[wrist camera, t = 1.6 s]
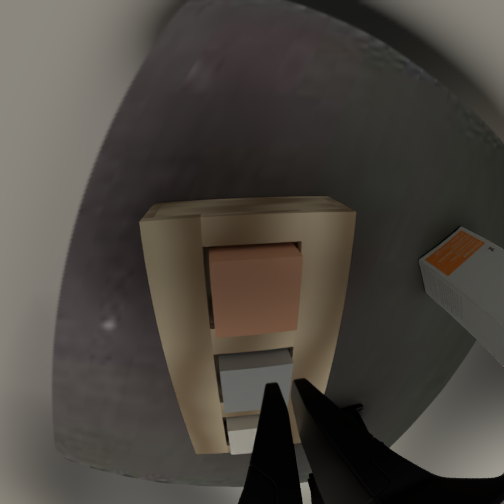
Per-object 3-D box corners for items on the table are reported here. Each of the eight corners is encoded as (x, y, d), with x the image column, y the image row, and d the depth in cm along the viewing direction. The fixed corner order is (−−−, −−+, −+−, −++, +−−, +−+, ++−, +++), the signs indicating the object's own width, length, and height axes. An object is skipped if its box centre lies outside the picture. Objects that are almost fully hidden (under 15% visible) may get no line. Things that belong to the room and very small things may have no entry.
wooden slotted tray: (327, 196, 18) (356, 211, 14) (300, 411, 26) (310, 440, 23) (153, 203, 17) (139, 221, 13) (195, 422, 25) (196, 454, 21)
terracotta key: (290, 240, 16) (303, 256, 14) (287, 308, 17) (297, 330, 15) (208, 245, 15) (209, 262, 13) (214, 314, 17) (215, 337, 15)
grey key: (284, 340, 18) (293, 363, 16) (281, 383, 20) (287, 405, 18) (217, 347, 18) (219, 371, 16) (222, 390, 19) (225, 412, 17)
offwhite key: (279, 403, 21) (285, 424, 19) (276, 429, 23) (281, 448, 21) (225, 409, 20) (227, 431, 18) (228, 435, 22) (231, 454, 20)
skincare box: (460, 223, 21) (560, 281, 10) (464, 259, 22) (550, 320, 11) (415, 259, 21) (517, 340, 10) (423, 294, 23) (507, 374, 12)
